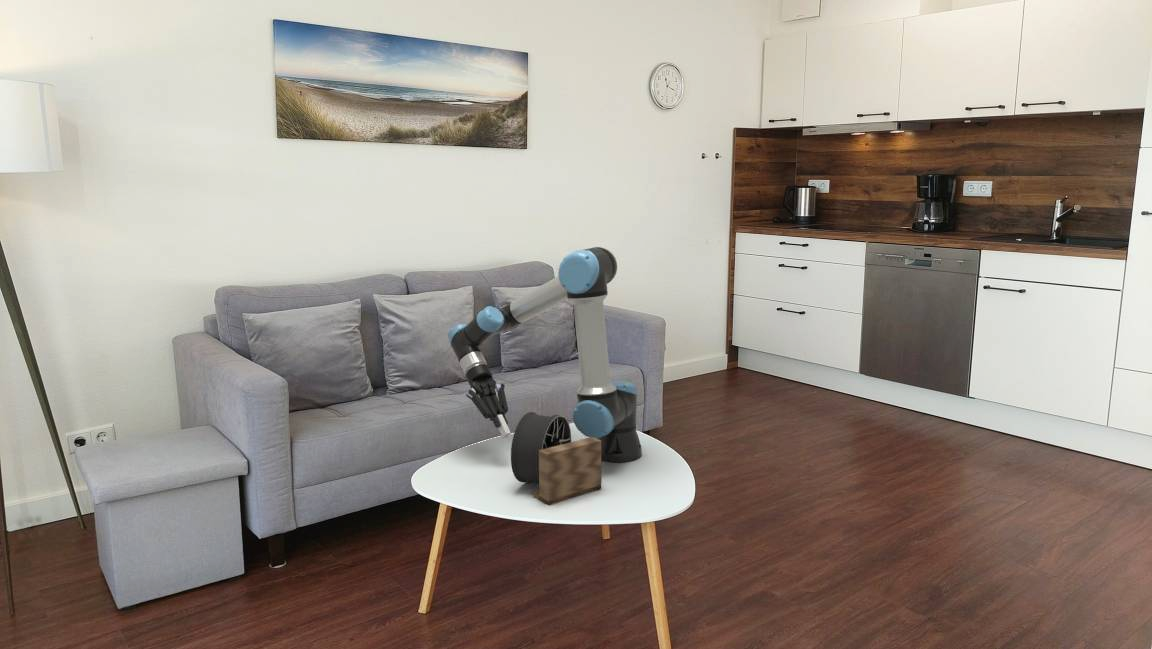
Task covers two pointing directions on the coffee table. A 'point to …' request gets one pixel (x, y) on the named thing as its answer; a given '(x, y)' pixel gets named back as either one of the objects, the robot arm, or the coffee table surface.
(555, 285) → the robot arm
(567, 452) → the stop board
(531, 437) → the wheel rim
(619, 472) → the coffee table surface
